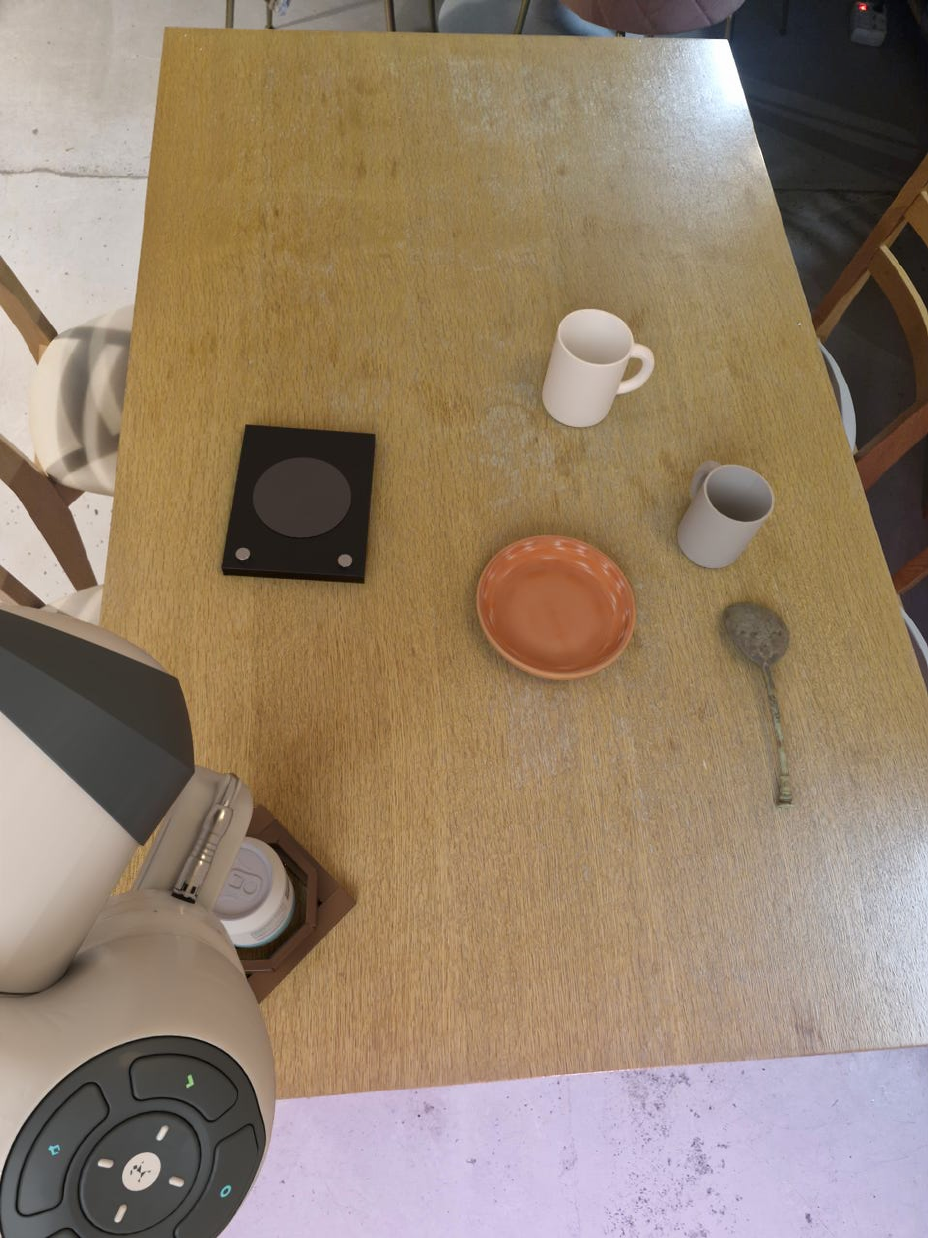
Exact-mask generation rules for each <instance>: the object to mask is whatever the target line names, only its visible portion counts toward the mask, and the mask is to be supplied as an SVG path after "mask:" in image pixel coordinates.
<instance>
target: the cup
mask: <svg viewBox="0 0 928 1238" xmlns="http://www.w3.org/2000/svg"><path fill="white" fill-rule="evenodd" d="M689 487H690V488H689V494H690V501H691V503H690V504H689V507H688V508H687V509H686V511H685V513H684V515H683V517H682V519H680V522H679V524H678V526H677V530H676V540H677V543H678V547H679V548H680V550H681V551H682V553H683V555H684V556H685V557H686V558H687V559H688V560H689V561H691V562H693V563H694V564H696V565H698V566H701V567H703V568H708V569H722V568H726V567H728V566H730V565H732V564H733V563H734V562H736V561H737V560H738V559H739V557H740V556H741V554H742V553H743V552H744V551H745V549H746V548H747V546H748V545H749V544H750V543H751V541H752V539H753V538H754V537H755V536H756V534H757V533H758V532H759V530H760V529H761V528H762V526H763V525H764V523H765V522H766V521H767V519H768V518H769V517H770V515H771V513H772V512H773V510H774V507H775V503H776V501H775V494H774V491H773V489H772V486H771V485H770V484H769V482H768V481H767V480H766V479H765V478H764V477H763V476H762V475H761V474H760V473H759V472H757V471H755V470H753V469H752V468H749V467H746V466H744V465H740V464H724V465H722V464H721V463H720V462H719V461H714V460H710V459H708V460H706V461H704V462H702V463H701V464H700V465H699V466H698V467H697V468H696V469H695V471H694V473H693V476H692V477H691V481H690V486H689Z"/></svg>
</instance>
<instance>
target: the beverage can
mask: <svg viewBox="0 0 928 1238" xmlns="http://www.w3.org/2000/svg"><path fill="white" fill-rule="evenodd" d="M295 908H296V892H295V889H294V886H293V883H292V881H291V879H290V877H289V875H288V873H287V870H286V868H285V866H284V863H283V862H282V861H281V860H280V858H279V856H278V855H277V853H276V852H275V851H274V850H273V849H272V848H271V847H270V846H269V845H267V844H266V843H264V842H262V841H260V840H258V839H255V838H251V837H245V838H244V840H243V843H242V845H241V847H240V850H239V852H238V854H237V857H236V859H235V861H234V863H233V866H232V868H231V870H230V872H229V875H228V877H227V879H226V882H225V884H224V886H223V888H222V891H221V893H220V895H219V897H218V900H217V902H216V904H215V906H214V909H213V911H212V912H213V913H214V914H215V915H216V916H217V917H218V918H219V920H220V921H221V922H222V924H223V925H224V927H225V928H226V930H227V932H228V933H229V935H230V938H231V940H232V942H233V944H234V947H235V948H240V949H258V948H262V947H263V946H266V945H269V944H271V943H272V942H275V940H276V939H278V938H279V937H280V936H281V935H282V934H283V933H284V932H285V931H286V929H287V928H288V926H289V925H290V923H291V921H292V919H293V916H294V913H295Z"/></svg>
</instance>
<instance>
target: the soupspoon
mask: <svg viewBox="0 0 928 1238" xmlns="http://www.w3.org/2000/svg"><path fill="white" fill-rule="evenodd" d="M723 623H724V626H725V628H726V630H727V633H728V635H729V636H730V638H731V639H732V641H733V642H734V644H735V645H736V646H737V647H738V648H739V649H740V650H741V651H742V652H743V653H744V654H745V655H746V656H747V657H748V658H749V659H750V660H752V662H754V663H755V664H757V665H758V666H760V670H761V672H762V676H763V680H764V684H765V685H764V686H765V688H766V694H767V698H768V703H769V709H770V714H771V718H772V724H773V730H774V734H775V735H774V736H775V741H776V747H777V754H778V760H779V766H780V771H781V772H780V774H779V778H780V779H781V783H780V786H779V789H780V790H779V791H780V793H781V794H780V795H779V800H781V802H779V803H777V804H776V805H775V806H776V807H777V808H784V809H785V808H786V809H794V808H798V806H797V804H795V803H792V801H793V799H794V798H793V796H792V787H791V784H790V782H789V780H790V779H791V775H789V767H788V759H787V753H786V752H787V751H786V745H785V739H784V738H785V737H784V733H783V727H782V720H781V716H780V715H781V714H780V710H779V703H778V698H777V691H776V686H775V682H774V681H775V680H774V677H773V673H772V672H773V671H772V669H771V668H772V666H774V665H775V664H777V663H778V662H780V660H781V659H782V658H783V657H784V655H785V654H786V652H787V650H788V648H789V646H790V640H791V637H790V632H789V628H788V626H787V624H786V621H784V619H783V618H782V617H781V616H780V614H778V613H777V612H776V611H774V610H772V609H771V608H769V607H766V606H764V605H762V604H758V603H756V602H755V603H754V602H737V603H735V604H734V603H733V604H731V605H730V606H727V607H726V609H725V610H724V612H723Z"/></svg>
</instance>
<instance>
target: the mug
mask: <svg viewBox="0 0 928 1238" xmlns="http://www.w3.org/2000/svg"><path fill="white" fill-rule="evenodd" d="M633 335H634V334H633V332H632V330H631V329H630V327H629V326H628V325H627V324H626V322H625V321H624V320H622V319H621V318H619V317H618V316H617V315H615V314H613V313H611V312H609V311H606V310H603V309H597V308H583V309H577V310H575V311H572V312H571V313H568V314H567V315H566V316H565V317H564V318H563V319H562V320H561V321H560V323H559V325H558V328H557V332H556V336H555V338H554V343H553V346H552V350H551V355H550V357H549V358H550V359H549V361H548V365H547V370H546V374H545V378H544V381H543V385H542V392H541V400H542V403H543V406H544V408H545V410H546V412H547V413H548V414H549V416H551V417H552V418H553V419H554V420H556V421H557V422H559V423H561V424H562V425H566V426H568V427H573V428H589V427H593V426H595V425H597V424H599V423H600V422H602V421H603V420H604V419H605V418H606V417H607V416H608V414H609V412H610V411H611V409H612V407H613V404H614V401H615V399H616V396H617V395H624V394H628V393H631V392H633V391H636V390H638V388H640V387H641V386H643V385H644V384H645V383H646V382H647V381H648V380H649V378H650V377H651V375H652V373H653V371H654V368H655V356H654V353H653V352H652V350H651V349H650V348H649V347H647V346H645V345H644V344H642V343H637V342H635V339H634V336H633ZM630 358H631V359H633V358H634V359H640V360H641V362H642V364H641V368H640V370H639V371H638V372H637V374H635V375H634V376H633V377H631V378H629V379H627V380H624V381H623V377H624V374H625V371H626V369H627V366H628V363H629V361H630Z"/></svg>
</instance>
